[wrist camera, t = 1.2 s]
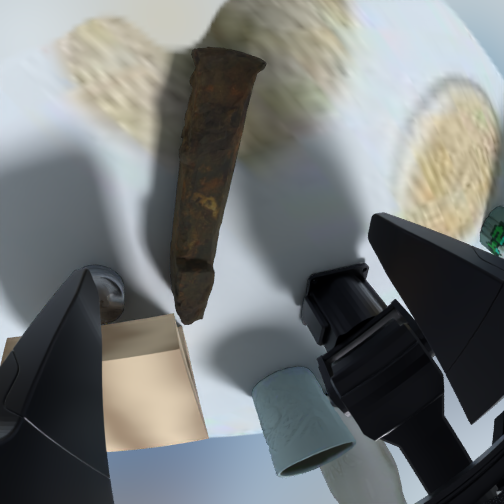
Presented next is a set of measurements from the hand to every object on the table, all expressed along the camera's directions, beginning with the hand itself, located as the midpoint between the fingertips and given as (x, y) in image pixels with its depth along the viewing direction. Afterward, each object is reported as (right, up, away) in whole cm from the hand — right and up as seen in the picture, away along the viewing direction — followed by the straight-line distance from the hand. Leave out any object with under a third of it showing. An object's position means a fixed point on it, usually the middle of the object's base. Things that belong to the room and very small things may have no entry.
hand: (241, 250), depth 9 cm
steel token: (-12, -3, +13) cm, 18 cm away
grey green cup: (+4, -18, +30) cm, 35 cm away
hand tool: (-3, +4, +12) cm, 13 cm away
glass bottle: (+12, -24, +38) cm, 47 cm away
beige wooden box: (-11, -6, +15) cm, 20 cm away
